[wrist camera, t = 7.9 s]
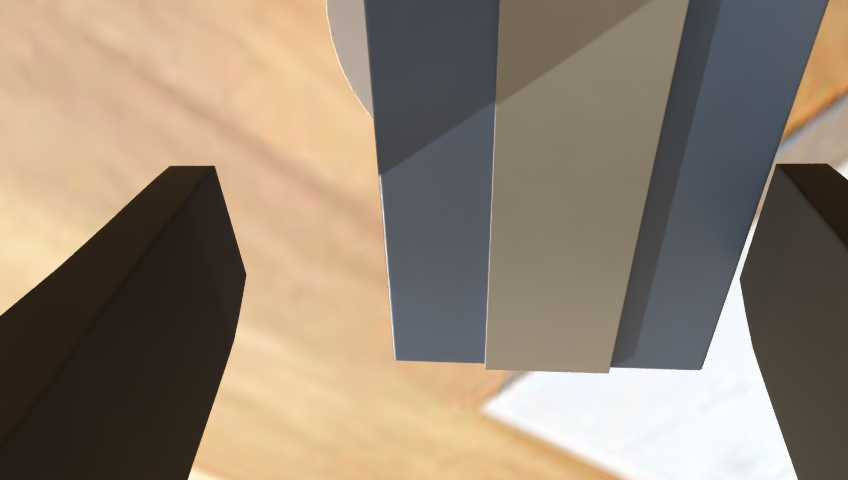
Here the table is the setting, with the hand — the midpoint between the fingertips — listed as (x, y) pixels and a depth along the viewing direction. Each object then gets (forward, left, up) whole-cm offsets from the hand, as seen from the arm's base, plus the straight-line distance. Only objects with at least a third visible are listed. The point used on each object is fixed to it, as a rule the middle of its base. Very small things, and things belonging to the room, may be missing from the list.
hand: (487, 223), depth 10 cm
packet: (+1, +1, -4) cm, 4 cm away
